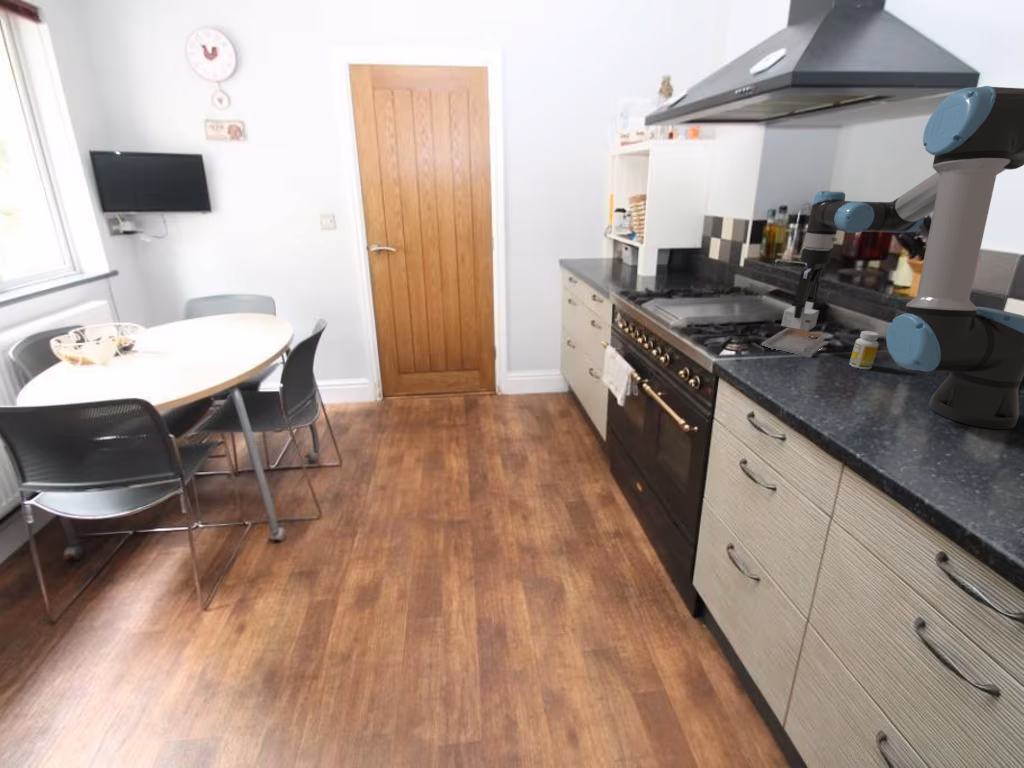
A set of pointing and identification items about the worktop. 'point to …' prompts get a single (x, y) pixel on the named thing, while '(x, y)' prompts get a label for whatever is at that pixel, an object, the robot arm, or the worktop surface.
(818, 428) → the worktop surface
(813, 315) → the small box
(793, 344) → the board
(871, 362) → the supplement bottle
